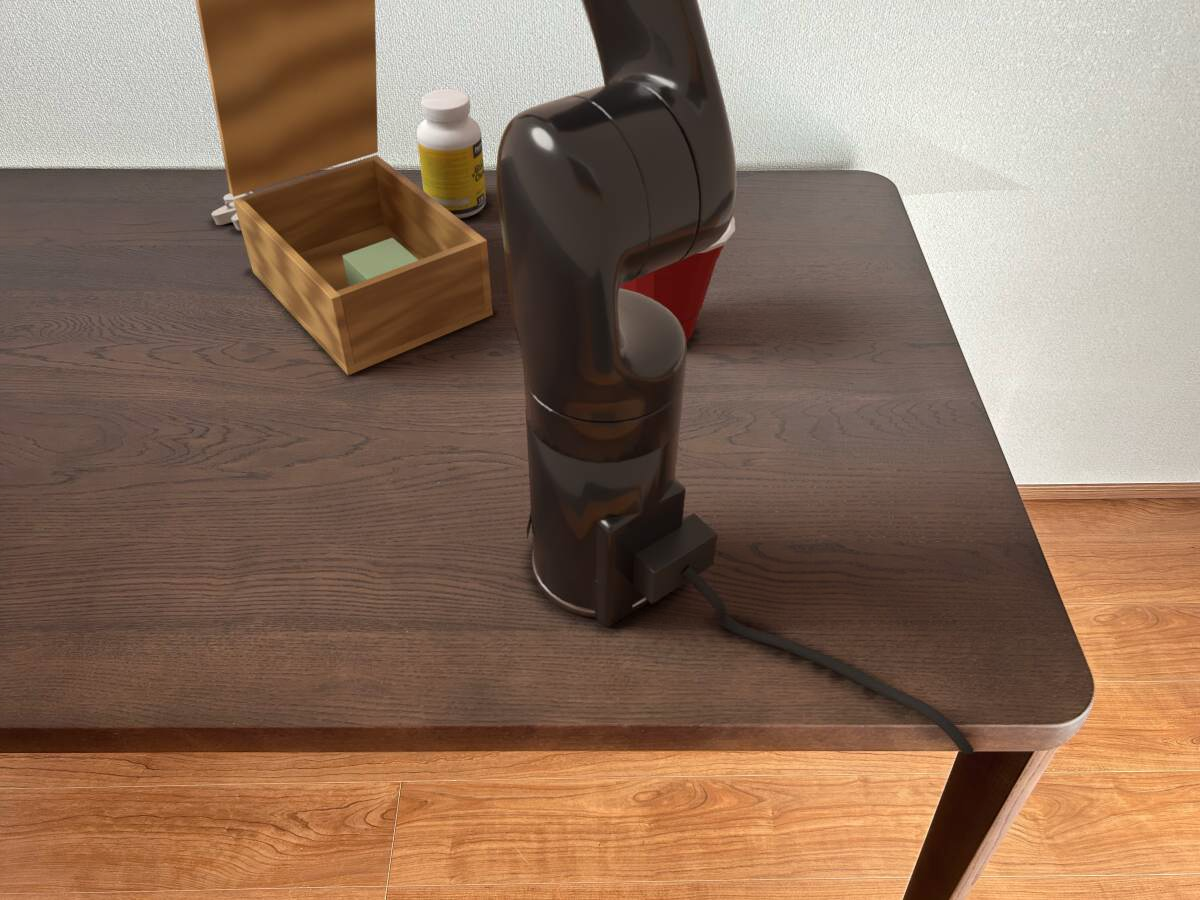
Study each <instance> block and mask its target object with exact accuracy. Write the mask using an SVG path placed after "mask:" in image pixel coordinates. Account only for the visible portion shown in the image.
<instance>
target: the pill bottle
mask: <svg viewBox="0 0 1200 900" xmlns="http://www.w3.org/2000/svg"><path fill="white" fill-rule="evenodd" d="M421 111H422V115H423V117H424V118H425V119H424V120H422V121H421V122H420V123H419V125H418V127H417V129H416V143H417V150H418V158H419V166H420V174H421V179H422V181H421V182H422V190H423V191H424V192H425V193H426V194H428V195H429V196H430V197H432V198H433V199H434V200H435V201H437V202H438V203H439V204H441V205H442V206H443V207H444V208H446V209H447V210H448V211H450V212H451V213H452V214H453V215H455V216H456V217H457V218H459V219H464V218H465V219H466V218H468V217H472V216H474V215H476V214H477V213H479V212H480V211H482V210H483V208H485V205H486V204H487V203H486V202H487V193H486V180H485V167H484V154H483V142H482V141H483V140H482V139H483V138H482V129H481V126H480V125H479V123H478V122H477V121H476V120H475V119H474V118H473V117H472V116H469V115H470V113H471V102H470V96H469V95H468V94H467V93H465V91H461V90H458V89H448V88H446V89H436V90H433V91H429V92H427V93H426V94H424V95H423V96H422V98H421Z"/></svg>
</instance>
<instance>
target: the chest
mask: <svg viewBox="0 0 1200 900" xmlns="http://www.w3.org/2000/svg"><path fill="white" fill-rule="evenodd" d="M233 201H234V205H235V208H236V212H237V216H238V219H239V223H240V227H241V230H240V231H241V234H242V237H243V240H244V241H243V242H244V244H245V248H246V251H247V252H246V253H247V255H248V259H249V263H250V266H251V270H252V273H253V275H255V276H256V278H257V279H259V281H261V283H262V284H263V285H264V286H265V287H266V289H268V291H270V292H271V294H272V295H273V296H274V297H275V298H276V299H277V300H278V301H279V302H280V304H281V305H282V306H283V307H284V308H285V309H286V310H287V311H288V313H290V314H291V315H292V317H294V318H295V319H296V321H297V322H298V323H299V324H300V325H301V326H302V328H304V329H305V330H306V331H307V333H308V334H309V335H310V336H311V337H312V338H313V339H314V340H315V341H316V342H317V344H319V346H320V347H321V348H322V349H323V350H324V351H325V352H326V353H327V354H328V355H329V356H330V358H331V359H332V360H333V362H335V363H336V364H337V365H338V366H339V367H340V368H341V369H342V371H343V372H345V374H346V375H347V376H351V375H353V374H356V373H357V372H360V371H362V370H364V369H367V368H369V367H372V366H374V365H376V364H379V363H381V362H383V361H386V360H388V359H390V358H393V357H396V356H398V355H400V354H403V353H405V352H407V351H410V350H412V349H415V348H417V347H419V346H422V345H424V344H427V343H429V342H431V341H433V340H436V339H438V338H441V337H443V336H446V335H449V334H450V333H453V332H455V331H457V330H460V329H462V328H464V327H467V326H469V325H471V324H474V323H477V322H480V321H481V320H484V319H486V318H488V317H491V316H493V315H494V313H493V302H492V289H491V276H490V275H491V274H490V264H489V263H490V261H489V251H488V250H489V249H488V240H487V239H486V238H484V237H483V236H482V235H480V233H478V232H477V231H476V230H474V229H473V228H472V227H470V226H469V225H468V224H466V222H464V221H463V220H461V218H457V217H456V216H455V215H453V214H452V213H451V212H450V211H448V210H447V209H446V208H444V207H443V206H442V205H441V204H439V203H438V202H437V201H435V200H434V199H433V198H432V197H430V196H429V195H428V194H426V193H425V192H424V190H423V189H421V188H420V187H419V186H417V185H416V184H415V183H414V182H412V181H411V180H410V179H408V178H407V176H405V175H403V174H402V173H401V172H399V171H398V170H397V169H396V168H394V167H393V166H392V165H391V164H389V163H388V162H387V161H385V160H384V159H383V158H381V157H380V156H379V155H378V154H376V155H371V156H369V157H366V158H365V157H364V158H362V159H357V160H356V161H355V160H354V161H351V162H349V163H346V164H343V165H342V164H341V165H340V166H339V165H338V166H335V167H333V168H329V169H327V170H326V169H325V170H322V171H319V172H317V173H314V174H311V175H307V176H303V177H301V178H298V179H294V180H291V181H287V182H285V183H284V182H283V183H282V184H279V185H278V184H277V185H276V186H272V187H269V188H268V187H267V188H265V189H262V190H259V191H256V192H255V191H254V192H253V193H252V194H249V195H246V196H243V197H240V198H236V199H234V200H233ZM390 238H394V239H395V240H396V241H397V242H398V243H399V244H401V245H402V246H403V247H404V248H405V249H406V250H408V251H409V252H410V253H411V254H412V255H413V256H415V257H416V258H417V259H418V261H416V262H413V263H410V264H408V265H405V266H402V267H400V268H397V269H394V270H392V271H389V272H386V273H384V274H381V275H378V276H376V277H373V278H370V279H368V280H365V281H362V282H360V283H357V284H354V285H352V286H349V287H348V282H347V277H346V272H345V267H344V262H343V255H345V254H348V253H351V252H354V251H356V250H359V249H362V248H365V247H367V246H370V245H373V244H376V243H379V242H381V241H384V240H387V239H390Z"/></svg>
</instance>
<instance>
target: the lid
mask: <svg viewBox="0 0 1200 900" xmlns="http://www.w3.org/2000/svg"><path fill="white" fill-rule="evenodd" d="M194 1H195V5H196V12H197V17H198V22H199V28H200V33H201V37H202V38H201V39H202V44H203V50H204V56H205V61H206V66H207V67H206V68H207V72H208V79H209V83H210V89H211V90H210V91H211V96H212V101H213V107H214V112H215V118H216V123H217V128H218V133H219V134H218V135H219V139H220V145H221V151H222V157H223V162H224V167H225V174H226V179H227V183H228V190H229V193H231V194H232V196H233V197H235V196H238V195H242V194H245V193H248V192H251V191H252V192H255V191H258V190H261V189H264V188H268V187H270V186H273V185H276V184H277V185H278V184H280V183H284V182H286V181H287V182H288V181H290V180H293V179H296V178H299V177H304V176H305V175H309V174H312V173H316V172H320V171H323V170H326V169H328V168H329V169H330V168H332V167H336V166H339V165H342V164H345V163H348V162H352V161H355V160H359V159H361V158H365V157H367V156H370V155H371V156H372V155H374V154H377V153H379V149H378V148H379V144H378V143H379V142H378V141H379V140H378V138H379V137H378V91H377V88H378V87H377V85H378V84H377V82H378V81H377V37H376V33H377V32H376V31H377V30H376V0H194Z"/></svg>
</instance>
